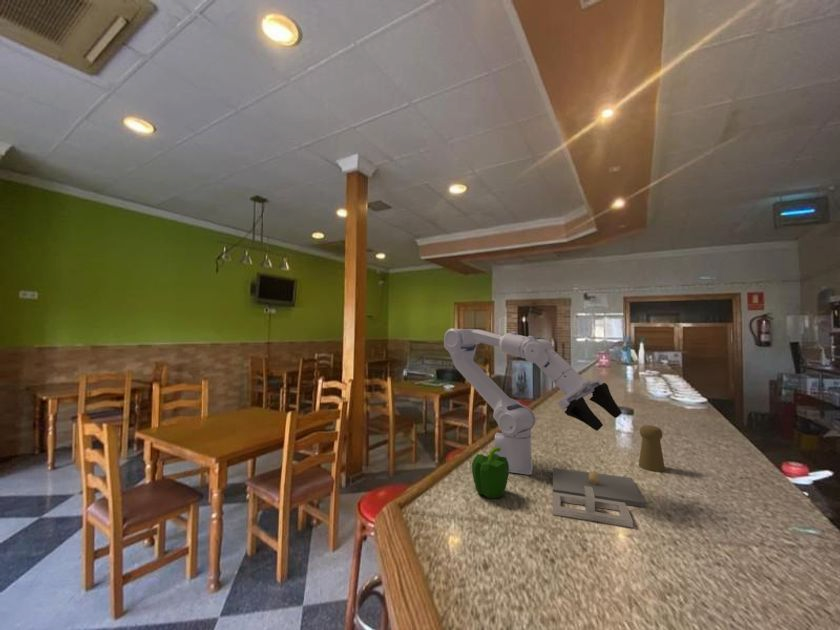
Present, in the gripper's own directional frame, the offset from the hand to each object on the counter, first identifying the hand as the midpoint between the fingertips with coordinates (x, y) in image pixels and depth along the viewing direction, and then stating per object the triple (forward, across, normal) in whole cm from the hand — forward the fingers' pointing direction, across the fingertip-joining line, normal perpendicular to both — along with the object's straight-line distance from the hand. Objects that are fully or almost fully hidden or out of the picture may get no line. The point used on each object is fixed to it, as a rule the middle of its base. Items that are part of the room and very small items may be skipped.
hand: (609, 421), depth 82 cm
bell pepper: (-3, -26, +17) cm, 31 cm away
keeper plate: (+8, -3, +15) cm, 17 cm away
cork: (+12, +21, +20) cm, 32 cm away
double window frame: (+10, -14, +8) cm, 20 cm away
